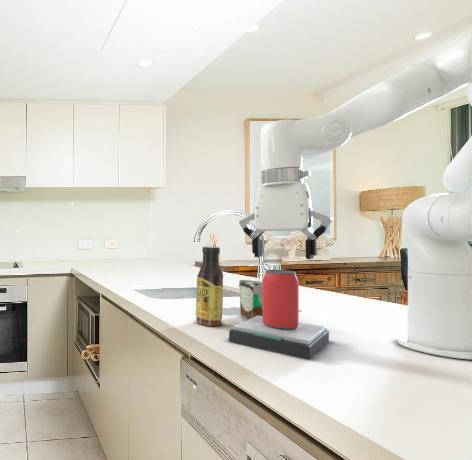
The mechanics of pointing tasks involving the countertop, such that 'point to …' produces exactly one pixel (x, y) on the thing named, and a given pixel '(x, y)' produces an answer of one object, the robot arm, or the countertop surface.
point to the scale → (281, 337)
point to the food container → (251, 298)
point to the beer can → (280, 299)
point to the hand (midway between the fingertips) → (283, 257)
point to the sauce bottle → (209, 289)
